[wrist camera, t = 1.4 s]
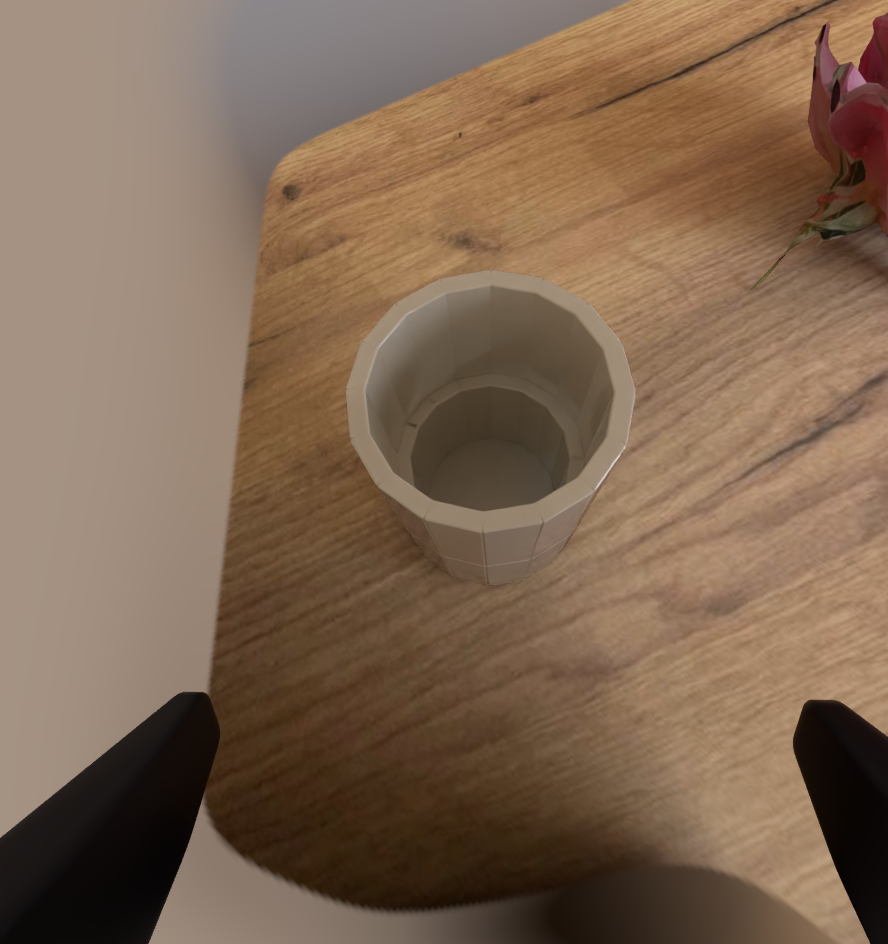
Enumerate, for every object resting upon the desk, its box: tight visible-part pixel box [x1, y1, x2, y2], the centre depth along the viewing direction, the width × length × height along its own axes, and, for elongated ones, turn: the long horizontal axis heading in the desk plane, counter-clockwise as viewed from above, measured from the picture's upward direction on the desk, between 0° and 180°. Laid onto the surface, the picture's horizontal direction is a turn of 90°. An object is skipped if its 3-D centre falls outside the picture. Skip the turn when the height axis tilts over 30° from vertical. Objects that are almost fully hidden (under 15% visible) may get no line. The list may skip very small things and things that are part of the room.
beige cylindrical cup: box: [345, 270, 636, 586], centre depth 18 cm, size 7×7×10 cm
